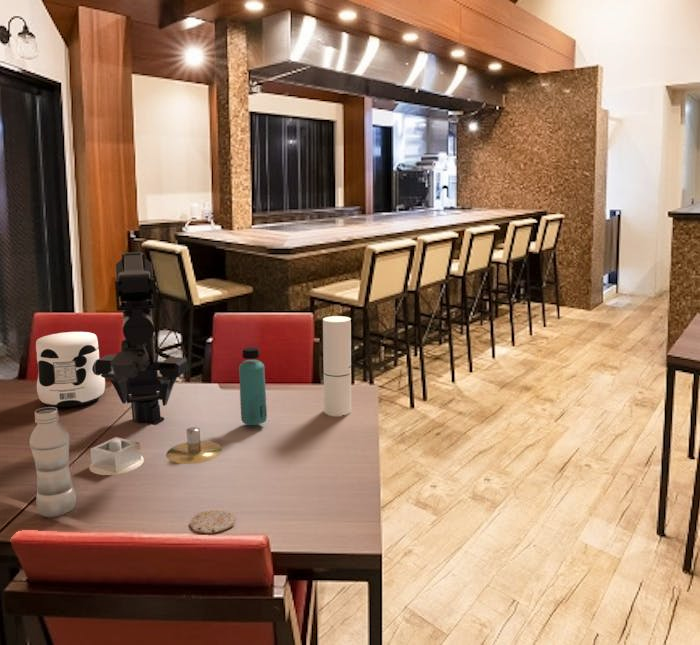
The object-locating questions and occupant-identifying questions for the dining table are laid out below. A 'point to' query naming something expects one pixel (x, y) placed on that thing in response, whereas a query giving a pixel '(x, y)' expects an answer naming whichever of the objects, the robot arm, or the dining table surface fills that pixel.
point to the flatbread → (212, 521)
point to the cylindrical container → (337, 365)
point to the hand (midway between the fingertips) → (144, 404)
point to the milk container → (68, 369)
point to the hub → (194, 449)
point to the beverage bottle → (252, 388)
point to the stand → (115, 446)
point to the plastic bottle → (52, 464)
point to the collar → (115, 455)
